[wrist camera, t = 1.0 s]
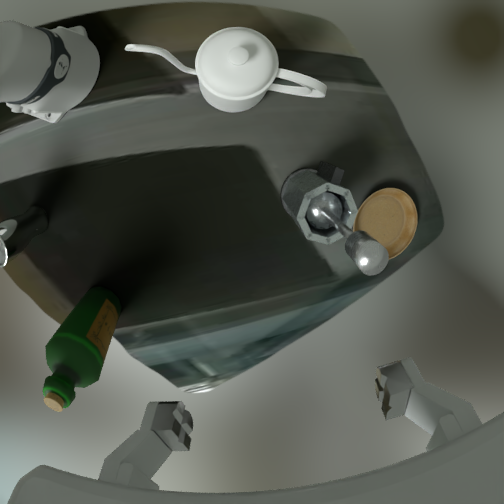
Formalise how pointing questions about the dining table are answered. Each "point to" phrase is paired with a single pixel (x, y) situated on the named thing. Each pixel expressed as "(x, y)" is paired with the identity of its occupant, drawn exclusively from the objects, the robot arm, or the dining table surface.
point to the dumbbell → (348, 234)
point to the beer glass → (20, 232)
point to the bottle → (80, 346)
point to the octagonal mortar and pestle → (309, 186)
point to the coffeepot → (239, 69)
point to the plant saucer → (388, 219)
